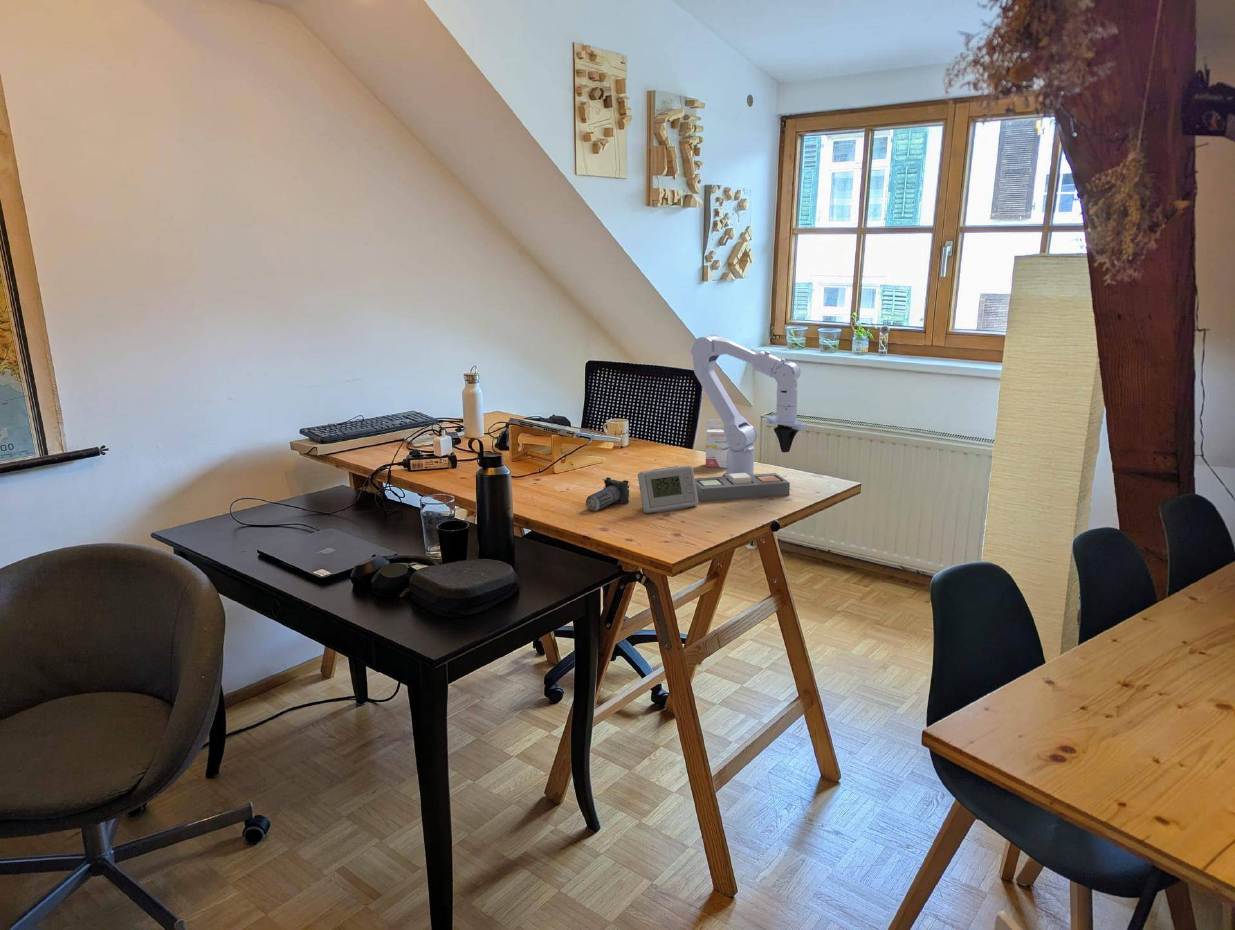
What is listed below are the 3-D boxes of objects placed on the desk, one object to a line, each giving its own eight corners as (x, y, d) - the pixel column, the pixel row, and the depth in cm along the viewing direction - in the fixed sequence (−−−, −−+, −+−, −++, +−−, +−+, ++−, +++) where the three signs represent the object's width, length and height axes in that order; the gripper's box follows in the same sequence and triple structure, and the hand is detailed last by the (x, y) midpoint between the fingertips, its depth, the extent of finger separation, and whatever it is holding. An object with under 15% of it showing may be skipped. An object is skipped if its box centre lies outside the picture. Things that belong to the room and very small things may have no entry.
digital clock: (642, 515, 204) (641, 475, 201) (634, 505, 212) (633, 467, 210) (702, 510, 207) (702, 471, 204) (692, 500, 215) (692, 463, 213)
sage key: (699, 487, 222) (699, 480, 222) (716, 485, 223) (716, 479, 222) (704, 491, 217) (704, 485, 217) (721, 490, 218) (721, 484, 218)
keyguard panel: (691, 490, 225) (691, 478, 224) (774, 484, 229) (775, 473, 228) (701, 501, 214) (701, 488, 214) (789, 494, 219) (789, 482, 218)
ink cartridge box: (705, 467, 250) (705, 422, 246) (705, 464, 255) (705, 419, 251) (733, 467, 249) (733, 422, 246) (732, 464, 254) (733, 419, 250)
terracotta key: (757, 483, 225) (757, 476, 224) (773, 481, 226) (774, 475, 225) (763, 487, 220) (763, 481, 219) (780, 486, 221) (780, 480, 220)
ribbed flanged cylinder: (609, 503, 219) (582, 517, 210) (603, 477, 218) (576, 489, 209) (635, 502, 214) (608, 516, 204) (629, 475, 212) (602, 487, 203)
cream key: (728, 480, 223) (728, 473, 223) (745, 478, 224) (745, 472, 223) (734, 484, 218) (734, 478, 218) (751, 483, 219) (751, 477, 219)
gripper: (759, 403, 229) (758, 449, 232) (793, 410, 217) (792, 458, 220) (777, 400, 233) (776, 445, 236) (812, 407, 220) (811, 454, 224)
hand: (785, 451), depth 228 cm, fingers closed
